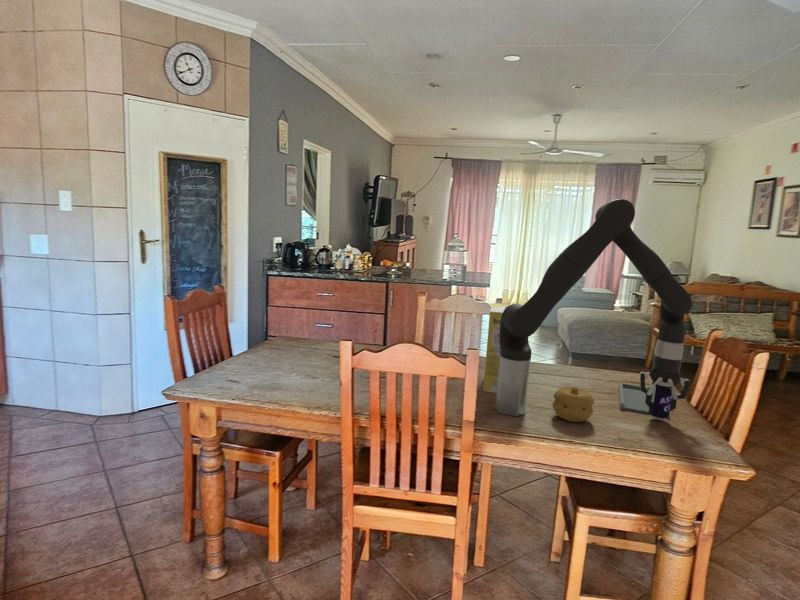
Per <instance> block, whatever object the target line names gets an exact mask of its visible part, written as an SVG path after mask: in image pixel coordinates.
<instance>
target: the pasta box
mask: <svg viewBox="0 0 800 600" xmlns="http://www.w3.org/2000/svg"><path fill="white" fill-rule="evenodd" d="M509 305H510V304H505V303H496V302H495V303H494V302H492V304H491V307H490V310H489V320H488V330H487V331H488V332H487V340H486V342H487V343H486V351H485V354H486V355H485V364H484V375H483V376H484V377H483V386H482V390H483V392H487V393H495V394H497V384H498V374H499V363H500V352H501V350H500V344H499V338H500V322H501V316H502V313H503V311H504V310H505V308H506V307H508V306H509Z"/></svg>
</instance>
